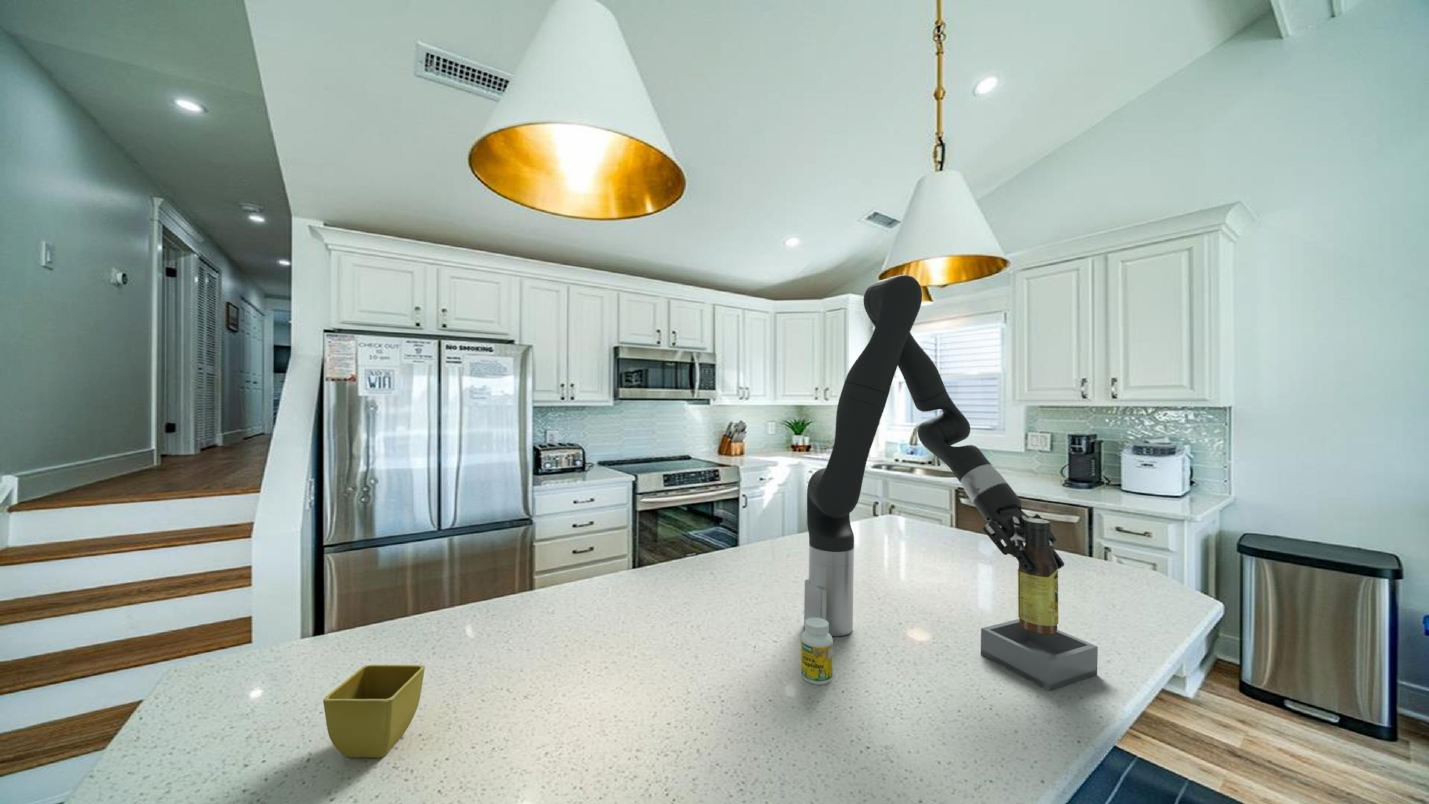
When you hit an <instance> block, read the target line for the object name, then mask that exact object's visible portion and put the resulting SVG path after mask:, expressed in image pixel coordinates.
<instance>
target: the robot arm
mask: <svg viewBox="0 0 1429 804" xmlns="http://www.w3.org/2000/svg"><path fill="white" fill-rule="evenodd" d="M922 301H923V291H922V287H921V284H920V283H919V281H918V280H917V279H916V278H915V277H913V276H911V275H908V274H900V275H895V276H890V277H888V278H885V279H881V280H878V281H874V282H873V283H871V284H870V285H868V287H867V288H866V290H865V292H864V295H863V306H864V307H863V308H864V310H865V312H866V315H867V316H868V319H870V321H871V323H872V324H873V326H874V329H873V332H872V335H871V337H870V339H869V341H868V343H867V344H866V346H865V348H864V349H863V350H862V352H860V355H859V356H858V357H857V359H855V362H854V363H853V364H852V365H851V367H850V369H849V371H848V373H847V375H846V377H845V379H844V382H843V386H842V389H841V392H840V395H839V399H838V403H837V407H836V414H835V415H836V417H835V431H834V434H835V435H834V441H833V442H834V443H833V448H832V451H831V454H830V457H829V459H828V460H827V461H828V462H827V465H826V467H823V468H820V469H817V470H816V471H815V472H814V473H813V474H812V475H811V477H810V478H809V481H808V484H807V490H806V518H807V519H806V521H807V522H806V524H807V530H808V531H807V533H808V539H809V540H808V542H809V543H808V545H809V547H808V579H805V580H804V603H803V604H804V605H803V606H804V607H803V609H804V610H803V611H804V612H803V614H804V615H803V623H804V625H805V621H806V620H807V619H808V618H822V619H824V620H826V621H827V622H828V623H829V631H828V633H829V634H830V635H831V636H832V637H842V636H846V635H849V634H851V633H852V632H853V629H854V627H853V626H854V625H853V624H854V623H853V622H854V573H855V571H854V570H855V569H854V568H855V567H854V565H855V564H854V563H855V562H854V561H855V536H854V532H853V529H852V525H851V524H852V523H851V519H850V517H851V516H850V513H851V512H853V511H854V509H855V508H856V506H857V505H858V503H859V500H860V497H861V496H860V495H861V492H862V487H863V481H864V477H865V470H866V467H867V462H868V457H869V454H870V450H871V448H872V446H873V443H874V440H875V437H876V435H877V431H878V428H879V425H880V422H881V419H882V416H883V414H884V410H885V408H886V404H887V402H888V398H889V395H890V391H891V387H892V383H893V380H894V377H895V374H896V371H897V368H899V369H898V370H899V371H900V373H901V375H902V377H903V379H904V382H905V384H906V388H907V389H908V392H909V394H910V397H911V400H912V401H913V404H914V406H915V408H916V410H918V411H920V412H923V413H924V412H925V413H926V412H932V411H938V410H941V411H942V413H941V414H939V415H936V416H934V417H933V418H930V419H928V420H926V421H924V422H923V421H922V422H921V423H920V425H919V426H918V427H917V437H918V439H919V441H920V443H921V444H922V445H923V447H925V448H926V450H928V451H930V452H931V454H933V455H934V456H935V457H937V459H939V460H940V461H942V462H943V463H944V464H945V465H946V466H947V467H948V468H949V469H950V470H951V472H952V473H953V475H955V477H956V478H957V481H959V483H960V485H961V486H962V488H963V490H964V491H965V494H966V495H967V497H968V498H969V499H970V500H971V502H972V503H973V505H974V506H975V507H976V509H977V510H978V512H979V514H981V516H982V517H983V519H984V520H985V522H988V523H986V524H985V525H984V526H983V527H982V530H983V531H984V533H985V534H986V535H987V536H988V537H989V539H990V540H991V541H992V543H994V545H995V546H996V547H997V549H999V551H1000V552H1001V553H1002V554H1003V555H1005V556H1008V554H1009V555H1010V556H1012V557H1013V558H1015V559H1016V560H1017V561H1018V564H1019V563H1020V564H1021V566H1022V567H1023V568H1024V570H1025V571H1026V572H1027V573H1028V574H1029V575H1034V574H1035V573H1037V572H1038V571H1040V568H1039V566H1038V565H1037V564H1036V562H1035V561H1034V560H1033V558H1032V557H1031V556H1030V554H1029V553H1028V551H1024V550H1025V547H1024V546H1025V544H1024V542H1025V539H1026V535H1025V534H1026V531H1025V530H1026V529H1025V526H1024V520H1025V519H1028V518H1036V519H1043V518H1042V517H1041V515H1039V514H1038V513H1037V514H1034V515H1033V516H1029V515H1028V514H1026V512H1024V511H1023V510H1022V505H1023V501H1022V500H1021V499H1020V497H1019V496H1018V494H1017V493H1016V492H1015V491H1014V489H1012V487H1011V486H1010V485H1009V483H1008V482H1007V480H1006V479H1005V478H1004V476H1003V475H1002V474H1001V473H1000V472H999V471H998V470H997V469H996V468H995V467H994V466H993V465H992V464H991V462H990V461H989V460H988V459H987V458H986V456H985V454H984V453H983V452H982V451H981V450H980V448H978V446H976V445H972V444H967V445H962V446H961V445H960V446H953V445H956V444H958V443H960V442H962V441H965V440H966V439H968V438H969V436H970V434H971V425H970V423H969V421H968V419H967V418H966V417H965V415H964V414H963V412H962V411H961V410H960V409H959V408H958V407H957V406H956V404H955V403H954V401H953V400H952V398H951V397H950V395H949V393H948V391H947V389H946V387H945V384H944V382H943V379H942V376H941V374H940V372H939V369H938V367H937V366H936V364H935V363H934V362H933V360H932V359H931V357H930V356H929V355H928V354H927V352H925V350H924V349H923V347H921V346H920V345H919V343H918V341H916V339H915V338H914V336H913V335H912V333H911V330H912V328H913V326H914V325H915V324H914V323H915V321H916V320H917V316H918V314H919V312H920V309H921V307H922ZM1002 540H1003V543H1002ZM1049 542H1050V547H1051V549H1052V552H1053V555H1054V557H1055V560H1056V563H1057V565H1058V570H1060V569H1062V568H1063V567H1064V566H1065V563H1064V561H1063V559H1062V558H1061V557H1060V556H1059V554H1058V553H1057V552H1056V550H1055V549H1054V547H1053V544H1054V543H1056V542H1057V538H1056V537H1055V536H1054V534H1053V532H1052V531H1051V530H1050V531H1049Z"/></svg>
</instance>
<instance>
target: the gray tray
mask: <svg viewBox="0 0 1429 804" xmlns="http://www.w3.org/2000/svg"><path fill="white" fill-rule="evenodd" d="M1098 649H1099V648H1098V645H1095V644H1092V643H1090V642H1088V641H1086V640H1083V639H1080V638H1078V637H1077V636H1073V635H1071V634H1069V633H1066V632H1065V631H1064V632H1063V631H1062V630H1059V629H1057V632H1056V633H1055V634H1052V635H1041V634H1036V633H1032V632H1029V631H1027V630H1025V629H1024V628H1022V627H1021V626H1020V623H1019V618H1017V619H1013V620H1008V621H1005V622H1001V623H996V624H993V625H988V626H985V627H980V655H981V656H983V657H984V658H986V659H988V660H990V661H993V662H994V663H996V664H998V665H1000V666H1001V667H1003V668H1005V669H1007V670H1008V671H1011V672H1013V673H1015V674H1017V675H1018V676H1020V677H1022V678H1024V679H1026V680H1027V681H1030V682H1032V683H1033V684H1035V685H1037V686H1039V687H1041V688H1042V689H1045V690H1047V691H1049V692H1050V691H1053V690H1057V689H1059V688H1063V687H1065V686H1067V685H1070V684H1071V685H1072V684H1075V683H1077V682H1080V681H1083V680H1085V679H1088V678H1091V677H1094V676H1098V657H1099V656H1098V655H1099V654H1098V653H1099V652H1098Z"/></svg>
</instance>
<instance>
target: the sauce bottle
mask: <svg viewBox="0 0 1429 804" xmlns="http://www.w3.org/2000/svg"><path fill="white" fill-rule="evenodd" d="M1024 526H1025V529H1026V530H1025V531H1026V534H1025V535H1026V539H1025V541H1024V542H1025V543H1024V547H1025V550H1024V551H1028V553H1029V554H1030V556H1031V557H1032V558H1033V560H1034V561H1035V562H1036V564H1037V565H1038V566H1039V568H1040V571H1038V572H1037V573H1035V574H1034V575H1029V574H1028V573H1027V572H1026V571H1025V570H1024V568H1023V567H1022V566H1021V564H1020V563H1019V562H1018V569H1017V603H1018V604H1017V605H1018V606H1017V613H1018V614H1017V617H1018V619H1019V623H1020V626H1021V627H1022V628H1024V629H1025V630H1027V631H1029V632H1032V633H1036V634H1041V635H1052V634H1055V633H1056V632H1057V630H1058V625H1059V569H1058V565H1057V563H1056V560H1055V557H1054V555H1053V552H1052V549H1051V547H1050V542H1049V531H1051V521H1049V520H1046V519H1043V518H1042V519H1036V518H1028V519H1025V520H1024Z"/></svg>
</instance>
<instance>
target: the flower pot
mask: <svg viewBox="0 0 1429 804" xmlns="http://www.w3.org/2000/svg"><path fill="white" fill-rule="evenodd" d="M425 668H426V666H425V665H424V664H423V665H421V664H366V665H363V666H362V667H361V668H359V669H358V670H356V671H355V673H353V674H352V675H351V676H349V678H347V679H346V680H344V681H343V682H342V683H341V684H340V685H338V686H337V687H336V688H334V689H333V690H332V691H331V692H330V693H328V694H327V695H326V696H325V697H324V698H323V700H322V702H323V703H322V704H323V710H324V715H325V716H324V717H325V722H326V730H327V733H328V734H327V735H328V736H329V737H328V738H329V739H330V741H331V743H332V745H333V747H335V749H336V750H337V751H338V752H339V753H340V754H342V756H343V757H346V758H384V757H385V756H387V754H388V753H389V752H390V750H392V748H393V747H394V746H395V745H396V743H398V741H399V740H400V739H401V738H402V737H403V736H404V735H405V733H406V731H407V729H408V728H409V726H410V724H411V723H412V720H413V719H414V716H415V714H416V712H417V709H418V707H419V703H420V699H421V693H422V688H423V681H424V675H425Z"/></svg>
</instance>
